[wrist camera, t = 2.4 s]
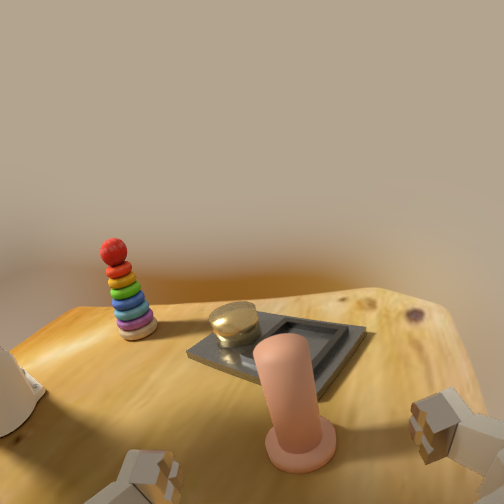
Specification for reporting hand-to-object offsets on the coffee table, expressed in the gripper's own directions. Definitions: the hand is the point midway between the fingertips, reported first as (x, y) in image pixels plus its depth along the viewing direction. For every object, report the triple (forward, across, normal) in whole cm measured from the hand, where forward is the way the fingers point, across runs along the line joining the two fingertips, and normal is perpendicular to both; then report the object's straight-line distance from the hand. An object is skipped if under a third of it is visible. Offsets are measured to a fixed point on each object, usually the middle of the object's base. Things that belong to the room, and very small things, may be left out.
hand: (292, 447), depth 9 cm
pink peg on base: (+12, 0, +16) cm, 20 cm away
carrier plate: (+31, +2, +16) cm, 35 cm away
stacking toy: (+44, +27, +16) cm, 54 cm away
